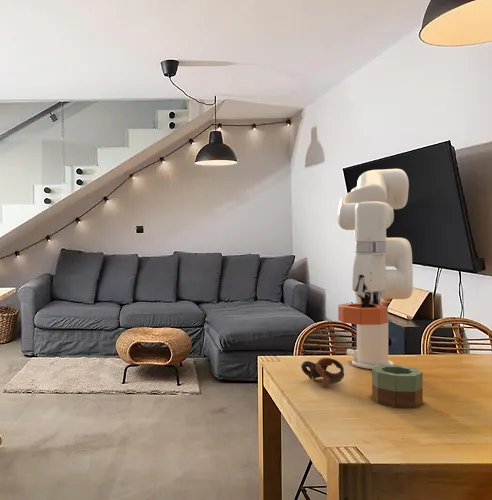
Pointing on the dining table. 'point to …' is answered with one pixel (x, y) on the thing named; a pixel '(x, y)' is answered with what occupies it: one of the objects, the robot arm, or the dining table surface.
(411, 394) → the ring bottom
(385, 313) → the ring top
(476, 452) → the dining table surface
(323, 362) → the brown knot
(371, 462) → the dining table surface
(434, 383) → the dining table surface
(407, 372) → the ring middle
